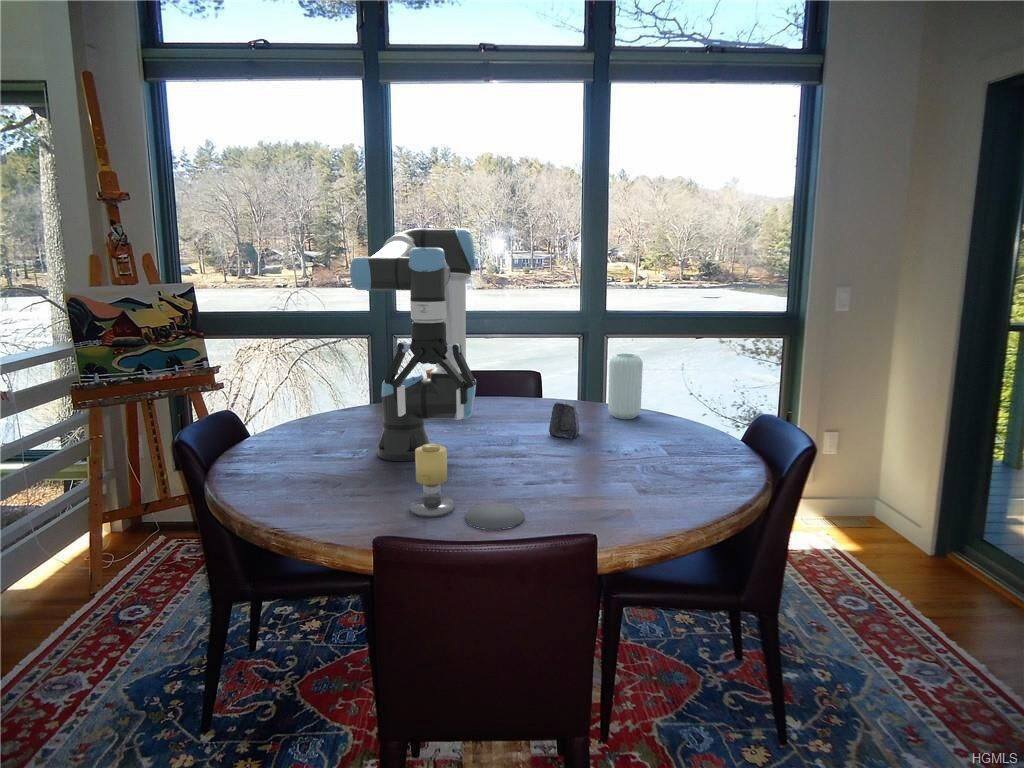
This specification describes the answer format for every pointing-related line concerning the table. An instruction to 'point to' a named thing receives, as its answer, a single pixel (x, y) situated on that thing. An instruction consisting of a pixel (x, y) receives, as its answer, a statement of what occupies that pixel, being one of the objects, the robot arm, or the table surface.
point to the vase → (625, 386)
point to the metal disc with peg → (432, 503)
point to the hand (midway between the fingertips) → (430, 416)
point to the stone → (564, 420)
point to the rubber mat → (494, 516)
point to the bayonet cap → (431, 464)
